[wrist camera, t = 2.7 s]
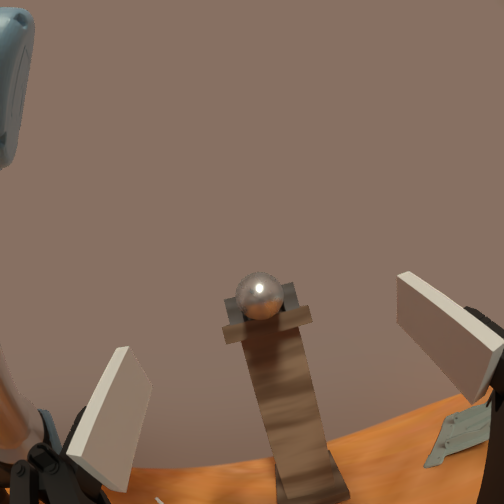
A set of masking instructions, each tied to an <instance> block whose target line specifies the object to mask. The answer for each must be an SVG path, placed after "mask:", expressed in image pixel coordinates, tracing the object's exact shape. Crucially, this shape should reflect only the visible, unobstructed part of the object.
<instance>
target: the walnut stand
mask: <svg viewBox="0 0 504 504" xmlns="http://www.w3.org/2000/svg"><path fill="white" fill-rule="evenodd" d="M281 286H282V289H283V293H284V298H283V303H282V306H281V308H280V309H279V311H278V312H277V313H276V314H275V315H274V316H272V317H270V318H268V319H264V320H255V319H251V318H249V317H247V316H245V315H244V314H243V313H242V312H241V311H240V309H239V308H238V306H237V303H236V297H233V298H230V299H225V300H224V302H225V305H226V309H227V313H228V318H229V322H230V325H227V326H225V327H222V330H223V334H224V338H225V341H226V344H230V343H235V342H238V341H241V343H242V347H243V350H244V354H245V358H246V361H247V365H248V369H249V373H250V376H251V380H252V383H253V387H254V391H255V394H256V398H257V401H258V405H259V408H260V412H261V415H262V419H263V422H264V426H265V428H266V432H267V436H268V439H269V442H270V446H271V449H272V452H273V455H274V459H275V462H276V464H275V471H276V488H277V504H336V503H339V502H342V501H345V500H348V499H350V494H349V490H348V488H347V486H346V484H345V482H344V479H343V477H342V475H341V473H340V471H339V469H338V467H337V465H336V463H335V461H334V459H333V457H332V455H331V453H330V450H328V449H327V444H326V440H325V435H324V431H323V426H322V422H321V418H320V414H319V409H318V405H317V401H316V396H315V392H314V388H313V384H312V380H311V376H310V371H309V368H308V364H307V359H306V355H305V351H304V348H303V343H302V339H301V336H300V332H299V328H298V326H301V325H304V324H308V323H311V322H312V318H311V314H310V311H309V306H308V305H307V306H299V303H298V300H297V296H296V292H295V288H294V285H293V282H291V283H288V284H284V285H281Z"/></svg>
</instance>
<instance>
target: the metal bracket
mask: <svg viewBox="0 0 504 504" xmlns="http://www.w3.org/2000/svg"><path fill="white" fill-rule="evenodd" d="M486 404H487V402H486V403H485V404H481V405H477V406H473V407H471V408H468V409H466V410H464V411H462V412H460V413H459V412H456V413H454V414H451V415H449V416H447V417H446V418H445V419H444V422H443V424H442V429H441V432H440V434H439V436H438V439H437V441H436V443H435V446H434V448H433V450H432V452H431V454H430V455H429V456H428V458H427V460H426V462H425V464H424V468H429V467H433V466H436V465H440V464H442V462H443V460H444V457H445V456H447V455H449V454H453V453H455V452H458V451H461V450H464V449H467V448H469V447H472V446H474V445H477V444H479V443H482V442H484V441H487V440H489V434H490V422H491V402H490V404H489V406H488V407H486ZM438 458H439V459H438Z"/></svg>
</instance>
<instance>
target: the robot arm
mask: <svg viewBox="0 0 504 504" xmlns="http://www.w3.org/2000/svg"><path fill="white" fill-rule="evenodd" d="M34 33H35V26H34V20H33V17H32V15H31V14H30V13H29V12H28V11H27V10H25V9H22V8H9V7H0V170H2V168H5V167H7V166H9V165H10V164H11V163H12V161H13V158H14V156H15V152H16V148H17V143H18V134H19V130H20V126H21V119H22V112H23V106H24V99H25V93H26V87H27V81H28V75H29V69H30V63H31V56H32V50H33V43H34ZM397 323H398V324H399V325H400V327H402V329H403V330H404V331H405V332H406V333H407V334H408V335H409V336H410V337H411V338H412V339H413V340H414V341H415V342H416V343H417V344H418V345H419V346H420V347H421V348H422V350H423V351H424V352H425V353H426V354H427V355H428V356H429V357H430V358H431V359H432V360H433V361H434V363H435V364H436V365H437V366H438V367H439V368H440V369H441V370H442V371H443V373H444V374H445V375H446V376H447V377H448V378H449V379H450V380H451V382H452V383H453V384H454V385H455V386H456V387H457V388H458V389H459V390H460V392H461V393H462V394H463V395H464V397H465V398H466V399H467V400H468V401H469V402H470V404H471V405H473V404H474V403H475V402H477V401H478V400H479V399H481V398H482V397H483V396H484V395H485V394H486V392H487V389H488V387H489V385H490V386H491V387H492V388H493V391H492V393H491V395H490V397H489V399H488V401H487V404H486V407H488V406H489V404H490V402H491V422H490V434H489V443H488V451H487V458H486V464H485V469H484V474H483V479H482V484H481V488H480V492H479V496H478V499H477V503H476V504H504V329H502V328H501V327H500V326H498V325H497V324H496V323H494V322H493V321H491V320H490V319H489V318H488V317H485V315H483V314H482V313H481V312H479V311H478V310H476V309H473V308H470V307H467V306H466V307H465V308H462V307H461V306H459V305H457V304H456V303H455V302H454V301H452V300H451V299H449V298H448V297H447V296H445V295H444V294H442V293H441V292H439V291H438V290H437V289H435V288H433V287H432V286H431V285H429V284H428V283H426V282H425V281H423V280H422V279H420V278H419V277H417V276H416V275H414V274H413V273H411V272H409V271H408V272H405V273H402V274H400V275H397ZM152 388H153V385H152V384H151V382H150V380H149V379H148V377H147V376H146V374H145V372H144V371H143V369H142V367H141V366H140V364H139V362H138V360H137V359H136V357H135V355H134V353H133V352H132V350H131V348H130V346H126V347H120V348H117V349H116V351H115V353H114V354H113V356H112V358H111V360H110V362H109V364H108V366H107V367H106V369H105V371H104V373H103V375H102V377H101V379H100V381H99V383H98V385H97V387H96V389H95V391H94V393H93V395H92V397H91V399H90V401H89V403H88V405H87V406H85V407H84V408H83V409H82V410H81V411H80V412H79V414H78V415H77V417H76V419H75V421H74V425H72V428H71V431H70V432H69V434H68V436H67V438H66V441H65V443H64V445H63V448H62V446H61V443H60V440H59V437H58V434H57V431H56V428H55V425H54V422H53V419H52V416H51V414H50V413H49V411H47V410H42V409H36V407H35V406H34V404H33V403H31V401H30V400H28V399H27V398H26V397H25V396H23V395H21V394H19V392H18V390H17V388H16V385H15V383H14V381H13V378H12V376H11V373H10V371H9V368H8V365H7V363H6V360H5V357H4V354H3V351H2V349H1V345H0V504H39V500H41V501H42V502H44V503H45V504H111V503H110V501H109V499H108V498H107V496H106V494H105V493H104V492H103V490H101V486H102V484H103V485H104V486H106V487H107V488H108V489H110V490H112V491H118V492H125V493H126V491H127V487H128V482H129V477H130V473H131V469H132V464H133V460H134V456H135V451H136V447H137V444H138V439H139V436H140V432H141V428H142V424H143V420H144V416H145V413H146V409H147V405H148V402H149V398H150V395H151V391H152ZM5 488H10V495H9V494H8V493H7V491H6V490H5Z"/></svg>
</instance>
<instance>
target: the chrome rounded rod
mask: <svg viewBox="0 0 504 504" xmlns="http://www.w3.org/2000/svg"><path fill="white" fill-rule="evenodd" d="M283 298H284V293H283V289H282V286H281V284H280V283H279V282H278V280H277V279H276V278H275V277H273V276H272V275H269V274H267V273H263V272H257V273H252V274H250V275H248V276H246V277H245V278H244V279H243V280H242V281H241V282H240V283H239V285H238V287H237V290H236V303H237V306H238V308H239V309H240V311H241V312H242V313H243V314H244V315H245V316H247V317H249V318H251V319H255V320H264V319H268V318H270V317H272V316H274V315H275V314H276V313H277V312H278V311H279V309H280V308H281V306H282V303H283Z"/></svg>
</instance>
